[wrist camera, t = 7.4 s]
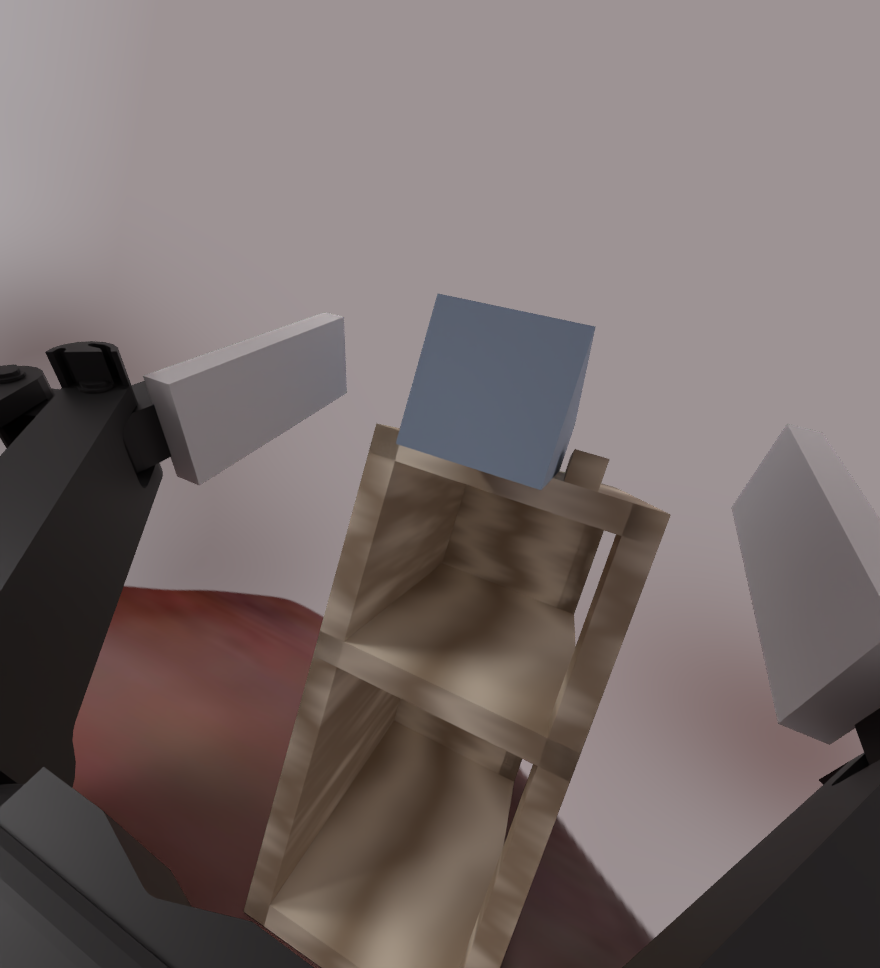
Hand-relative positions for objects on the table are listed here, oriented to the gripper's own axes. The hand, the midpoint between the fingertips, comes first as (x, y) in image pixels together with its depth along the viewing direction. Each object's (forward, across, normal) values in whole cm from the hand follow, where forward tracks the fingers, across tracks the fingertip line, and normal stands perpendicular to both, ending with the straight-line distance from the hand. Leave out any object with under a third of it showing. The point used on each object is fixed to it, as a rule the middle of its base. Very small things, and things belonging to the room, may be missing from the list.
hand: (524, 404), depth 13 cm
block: (+8, -1, -7) cm, 11 cm away
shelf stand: (-2, -1, -36) cm, 36 cm away
